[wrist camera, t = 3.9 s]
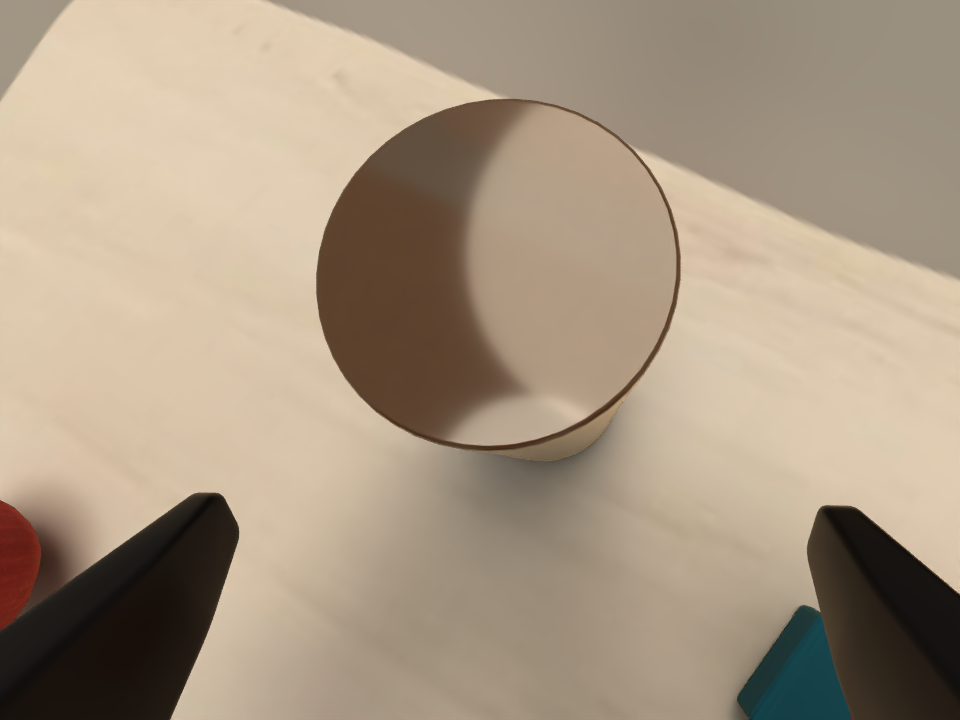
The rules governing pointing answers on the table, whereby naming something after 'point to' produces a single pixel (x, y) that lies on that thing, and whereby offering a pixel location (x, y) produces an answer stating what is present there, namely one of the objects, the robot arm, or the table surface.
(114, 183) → the table surface
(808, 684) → the popsicle
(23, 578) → the onion
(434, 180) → the spice jar
